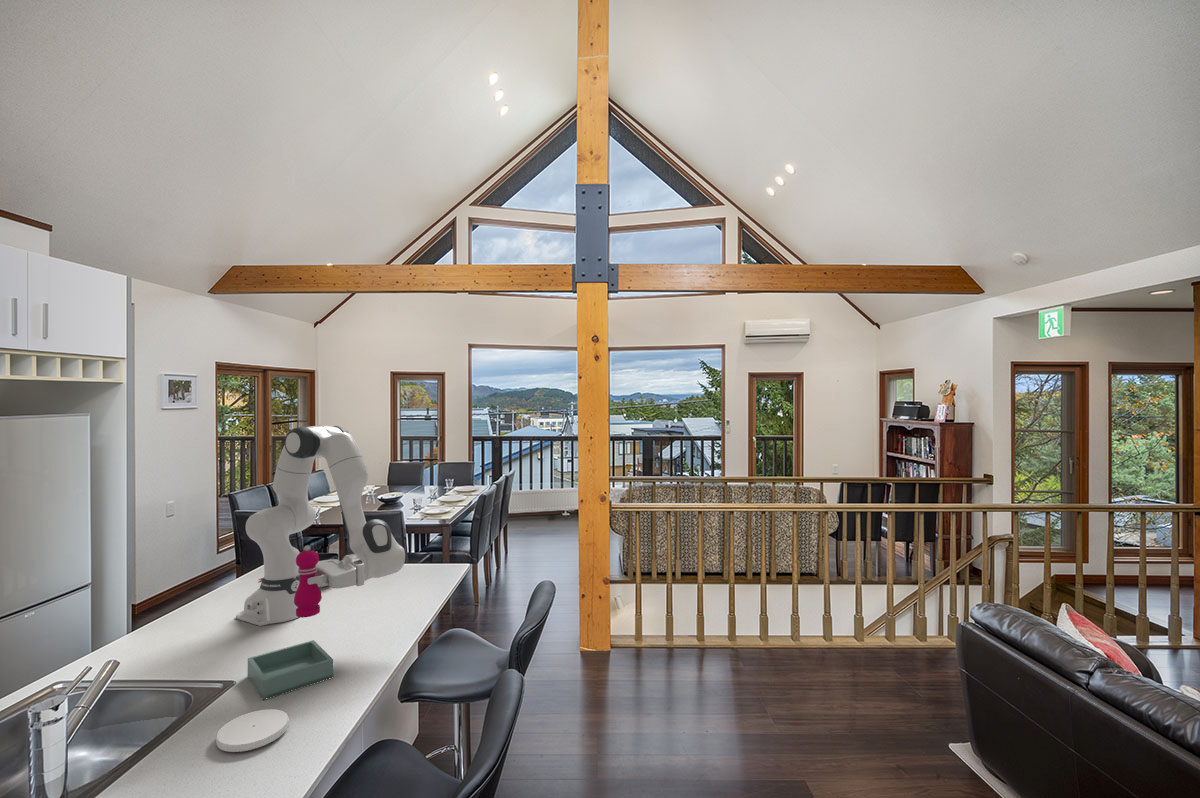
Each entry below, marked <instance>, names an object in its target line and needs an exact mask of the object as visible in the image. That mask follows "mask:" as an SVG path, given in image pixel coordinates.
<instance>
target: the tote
mask: <svg viewBox="0 0 1200 798" xmlns="http://www.w3.org/2000/svg"><path fill="white" fill-rule="evenodd" d="M248 677H249V678H248ZM332 677H333V678H334V659H333V657H332V656H331V655H329V654H328V653H327V651H326V650H324V649H323V648H322V647H321V646H320V644H318V643H317V642H316V641H315V639H312V640H309V641H305V642H302V643H299V644H295V645H291V646H287V647H284V648H279V649H277V650H273V651H269V652H265V653H262V654H257V655H255V656H250V657H248V658H247V678H248V679H249V681H250V680H251V681H250V683H251V684H252V683H253V684H252V685H253V687H254V686H255V687H254V689H255V690H256V689H257V690H256V691H258V692H259V693H258V692H257V693H258V694H260V695H259V696H260V697H262V698H263V699H266V698H269V699H271V698H270V697H272V698H274V697H273V696H275V697H277V696H276V695H278V696H280V694H281V695H283V694H282V693H284V694H286V692H287V693H290V692H292V691H291V690H293V691H296V690H295V689H297V690H299V689H298V688H300V689H302V688H301V687H303V688H305V687H304V686H306V687H308V686H307V685H309V686H311V685H310V684H312V685H315V684H317V682H318V683H321V682H324V681H327V680H330V679H329V678H331V679H333V678H332ZM326 679H327V680H326ZM323 680H324V681H323ZM320 681H321V682H320ZM314 683H315V684H314ZM289 691H290V692H289ZM262 698H261V699H262ZM263 699H262V700H263ZM266 700H267V699H266Z"/></svg>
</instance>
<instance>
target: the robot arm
mask: <svg viewBox="0 0 1200 798" xmlns="http://www.w3.org/2000/svg"><path fill="white" fill-rule="evenodd" d="M321 458H324V459H325V460H326V462H327V466H328V469H329V472H330V475H331V477H332V480H333V481H332V482H333V483H334V486H335V490H336V493H337V497H338V498H337V499H338V502H339V506H340V509H341V513H342V517H343V521H344V524H345V529H346V532H347V538H346V539H347V541H346V550H347V553H348V554H346V555H344V557H343V559H341V560H339V559H336V558H333V559H332V558H331V559H324V560H319V561H318V563H317V564H316V566H317V571H316V574H315V577H313V576H312V577H308V578H307V583H308V584H309V585H310V584H320V583H326V584H327V585H328V586H329V587H330V588H331V589H342V588H350V587H354V586H356V587H361V586H364V585H365V582H366V581H368V580H370V579H377V578H378V579H379V578H384V577H387V576H391V575H393V574H396V573H398V572H399V571H400V570H401V569H403V567H404V565H405V562H406V551H405V548H404V547H403V546H402V545H401V544H399V542H397V541H396V539H395V537H394V535H393V534H392V530H391V527H390V525H389V524H388V523H387V522H386V521H384V520H382V519H378V518H375V519H373V518H372V519H370V520H368V521H366V516H365V514H364V508H363V506H362V498H363V497H362V496H363V493H364V489H365V488H366V484H367V482H368V478H369V472H368V466H367V465H368V464H367V463H366V460H365V457H364V455H363V452H362V450H361V449H360V447H359V445H358V443H357V441H356V440H355V438H354V437H353V435H352V434H351V433H350V432H349V431H348V429H346V428H344V427H342V426H338V425H325V424H324V425H322V424H319V425H312V426H311V425H309V426H298V427H295V428H292V429H290V430H289V431H288V432H287V434H286V435H285V438H284V445H283V448H282V450H281V452H280V455H279V457H278V461H277V464H276V468H275V473H274V477H273V482H272V490H273V492H275V494H277V495H279V503H278V505H276V506H272V507H267V508H263V509H261V510H259V511H257V512H255V513H253V514H251V515H250V516H249V517H248V519H246V522H245V532H246V535H247V537H248V538H249V539H250V540H252V541H254V542H255V543H256V544H257V545H258V546H259V548H260V551H261V553H262V557H263V572H264V573H263V576H264V577H261V578H259V579H258V581H257V583H258V584H259V583H260V586H259V588H258V589H256V591H254V592H253V593H252V594H250V595H249V596H248V597H246V599H245V601H244V605H243V610H241V611H240V612H238V613H237V614H236V615H235V619H236V620H240V621H243V622H247V623H250V624H253V625H256V626H260V627H261V626H266V625H267V626H268V625H271V624H279V623H284V622H289V621H292V620H295V619H297V618H299V617H297V616H296V609H297V608H298V607H297V606H296V605H295V604H294V597H295V593H296V591H297V588H298V586H299V582H300V574H298V568H299V567H298V566H297V564H296V558H297V556H298V554H299V553H301V552H300V551H299V549H298V548H297V547H294V546H293V545H292V544H291V542H290V535H294V534H296V533H300V532H302V531H304V530H305V529H308V528H309V527H311V526H312V525H313V524H314V523H315V520H316V515H317V514H316V510H315V508H314V506H313V505H312V504H311V503H310V501H309V495H308V492H309V485H310V480H311V476H312V471H313V467H314V462H315V460H316V459H321Z"/></svg>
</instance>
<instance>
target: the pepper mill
mask: <svg viewBox="0 0 1200 798" xmlns="http://www.w3.org/2000/svg"><path fill="white" fill-rule="evenodd" d="M318 561H320V556H319V553H317V551H315V550H312V547H311V546H310V545H309V544H307V545H305V546H304V547H303V551H301V552H300V553H299V554H298V556H297V558H296V564H297V566H298V567H299V568H298V574H300V582H299V586H298V588H297V591H296V593H295V597H294V604H295V605H296V606H297V607H298V608H297V609H296V616H297V617H298V618H310V617H313V616H316V615H318V614H320V613H321V605H320V604H319V603H320V602H321V601H322V599H323V597H322V596H323V595H322V592H321V588H319V587H318V585H317V584H310V585H309V584H308V583H307V578H308V577H312V576H313V577H315V574H316V571H317V566H316V564H317V563H318Z"/></svg>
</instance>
